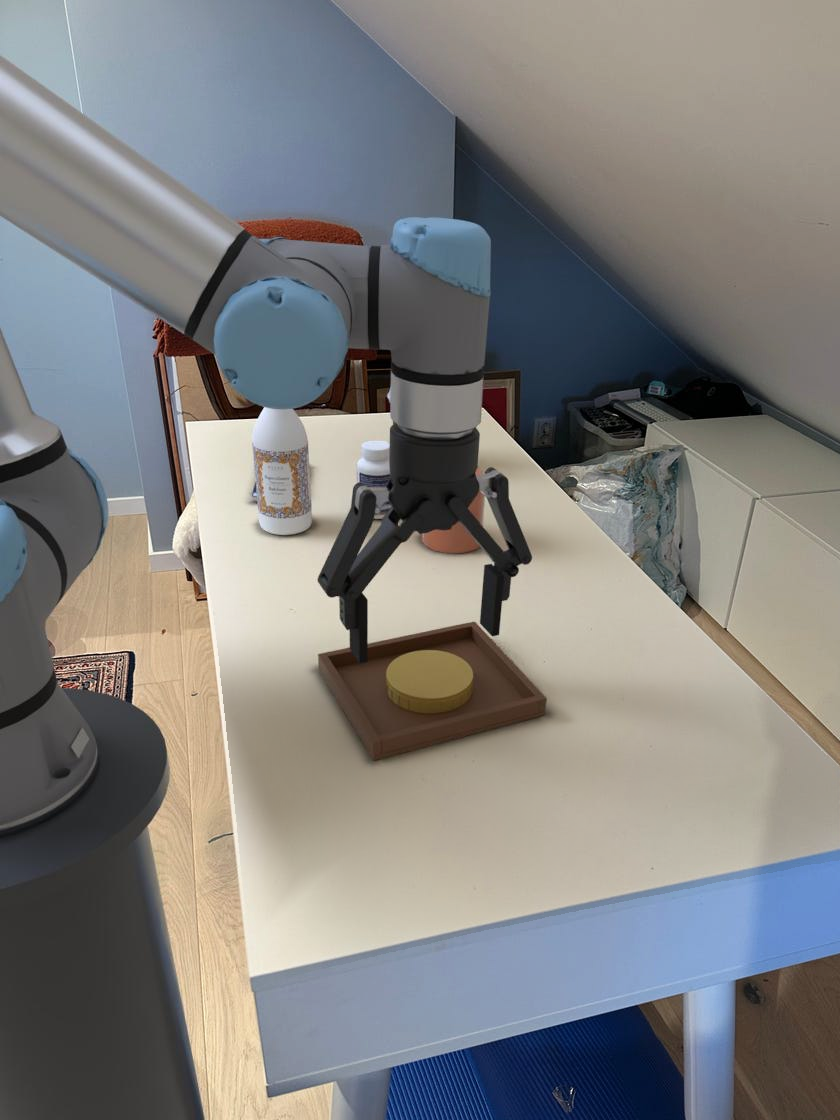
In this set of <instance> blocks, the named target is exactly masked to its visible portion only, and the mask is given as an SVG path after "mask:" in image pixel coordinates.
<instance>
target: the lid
mask: <svg viewBox="0 0 840 1120" xmlns="http://www.w3.org/2000/svg"><path fill="white" fill-rule="evenodd" d="M473 683H474V677H473V671H472V668H471V667H470V665H469V664H468V663H467V662H466V661H465V660H463V659H462V658H460V657H458V656H456V655H454V654H451V653H448V652H443V651H436V650H421V651H414V652H410V653H406V654H404V655H401V656H399V657H398V658H396V659H395V660H393V661H392V662H391V663H390V665H389V666H388V668H387V671H386V677H385V688H386V691H387V694H388V696H389V698H390V699H391V700H392V701H393V702H394V703H395V704H397V705H398V706H400V707H402V708H404V709H407V710H410V711H413V712H418V713H429V714H432V713H443V712H448V711H451V710H454V709H456V708H458V707H460V706H462V705H463V704H465V703H466V702H467V701H468V700H469V698H470V697H471V694H473Z"/></svg>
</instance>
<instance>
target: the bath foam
mask: <svg viewBox="0 0 840 1120" xmlns="http://www.w3.org/2000/svg"><path fill="white" fill-rule="evenodd" d="M251 438H252V439H251V440H252V442H251V445H252V455H253V456H252V457H253V467H254V468H253V469H254V476H255V477H254V479H255V480H256V491H257V501H256V502H257V511H258V522H259V526H260V528H261V529H262V530H263V531H264V532H267V533H269V534H272V535H273V534H274V535H280V536H290V535H297V534H300V533H303V532H305V531H306V530H308V529H309V528H310V527H311V526H312V524H313V513H312V511H313V509H312V507H313V506H312V492H311V491H312V490H311V472H310V470H311V469H310V455H309V454H310V453H309V452H310V451H309V440H308V439H309V438H308V435H307V431H306V427H305V425H304V423H303V421H302V420H301V418H300V416H298V414H297V413H296V411H295V410H294V408H293V409H271V408H266V407H263V409H262V411H260V414H259V416H258V418H257V419H256V420H255V424H254V427H253V431H252V437H251ZM255 480H254V481H255Z"/></svg>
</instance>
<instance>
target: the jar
mask: <svg viewBox="0 0 840 1120" xmlns="http://www.w3.org/2000/svg"><path fill="white" fill-rule="evenodd" d="M475 474H476V476H478V475H482V474H484V472H483V470H481V469H480V468H479V467H477V470H476V472H475ZM485 498H486V497H485V496H484V495H483V494H482V493H481V491H480V490H479V492H478V494H477V496H476V497H475V499H474V500H473V501H472V503H471V504H470V506H469V507H468V509H469V510H470V512H471V513H472V514H473V515H474V516H475V517H476V519H477V520H478V521H479V522H480V524H481V525H482V526H483V527H484V516H485V515H484V514H485V502H486V501H485ZM421 541H422V543H423V545H424V546H425V547H427V548H429V549H430V550H432V551H434V552H439V553H444V554H463V553H469V552H473V551H474V550H477V549H478V548H479V547H480V546H479V545H478V544H477V542H476V541H475V540H474V539H473V538H472V537H471V536H470V534H469V533H468V532H467V531H466V530H465V529H464V528H463V526H462V525H461V524H460V523H459V522H458V523H456V524H455V525H454V526H452V529H450V530H433V531H431V532H428V533H422V534H421ZM480 548H481V547H480Z"/></svg>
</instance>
